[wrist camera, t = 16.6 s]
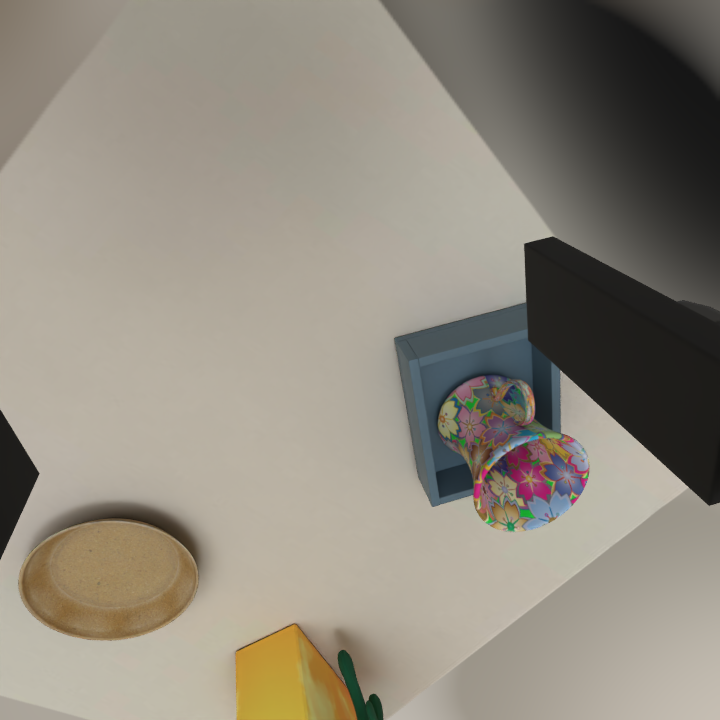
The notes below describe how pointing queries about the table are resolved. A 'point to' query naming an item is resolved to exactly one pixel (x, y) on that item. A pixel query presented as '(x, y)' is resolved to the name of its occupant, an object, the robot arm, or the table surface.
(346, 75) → the table surface
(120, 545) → the plant saucer
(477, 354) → the tub
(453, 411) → the mug
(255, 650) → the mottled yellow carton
